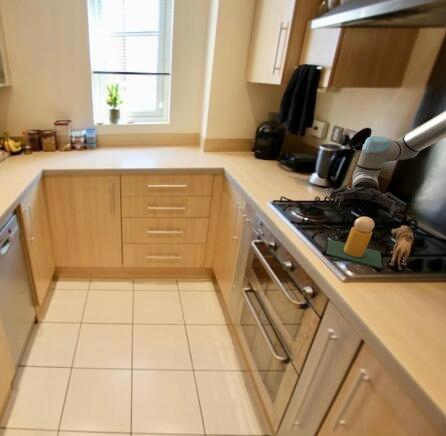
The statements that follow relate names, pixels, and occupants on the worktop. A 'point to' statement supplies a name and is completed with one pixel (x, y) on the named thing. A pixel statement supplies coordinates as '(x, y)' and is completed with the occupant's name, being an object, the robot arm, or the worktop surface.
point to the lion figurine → (402, 244)
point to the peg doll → (359, 237)
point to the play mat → (368, 258)
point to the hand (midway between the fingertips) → (366, 209)
